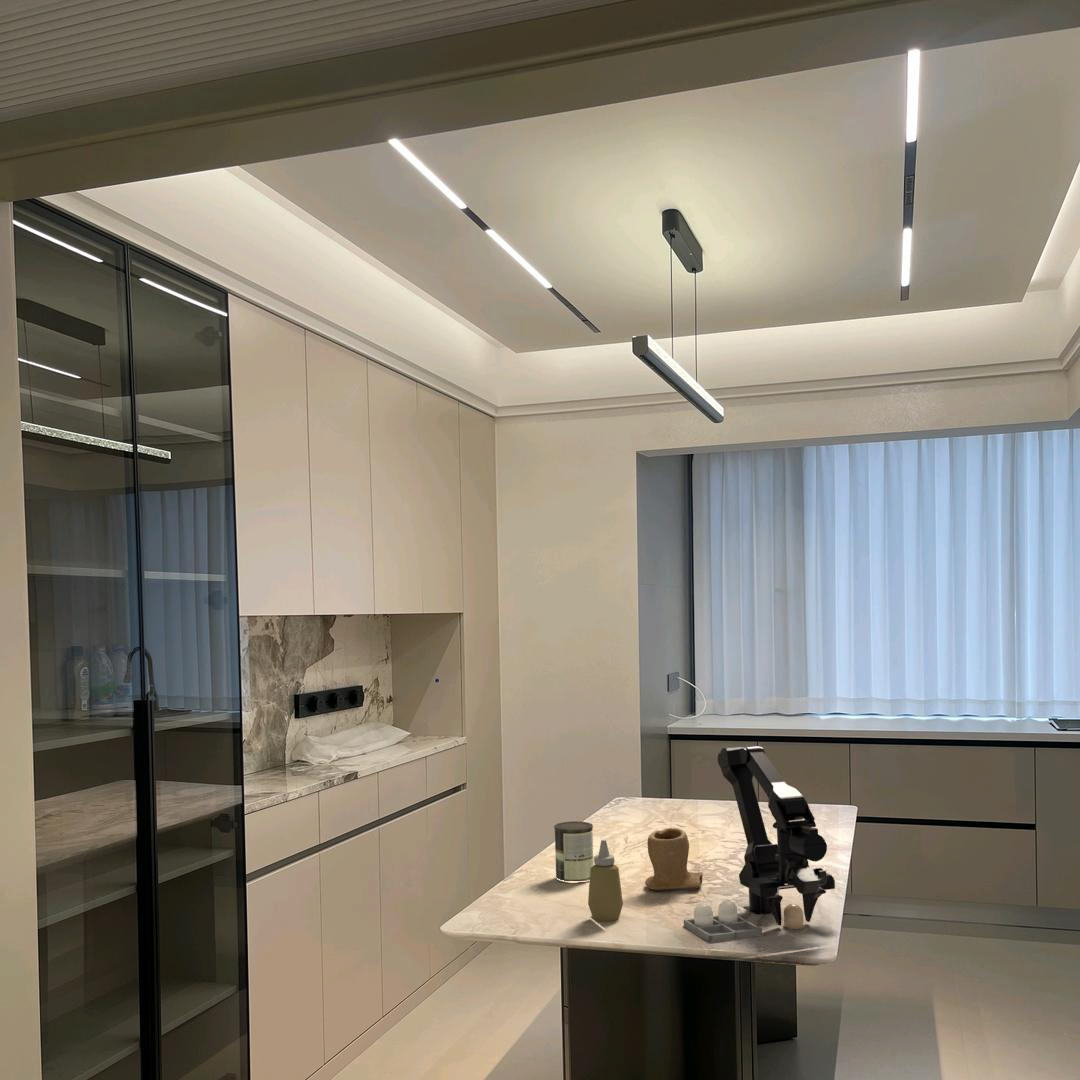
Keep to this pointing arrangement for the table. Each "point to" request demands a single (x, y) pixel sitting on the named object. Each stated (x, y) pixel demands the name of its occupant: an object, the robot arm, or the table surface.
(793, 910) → the brown egg
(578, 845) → the coffee can
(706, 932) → the egg carton
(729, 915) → the white egg left
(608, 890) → the squeeze bottle
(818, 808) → the table surface
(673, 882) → the stone cup
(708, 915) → the white egg back
